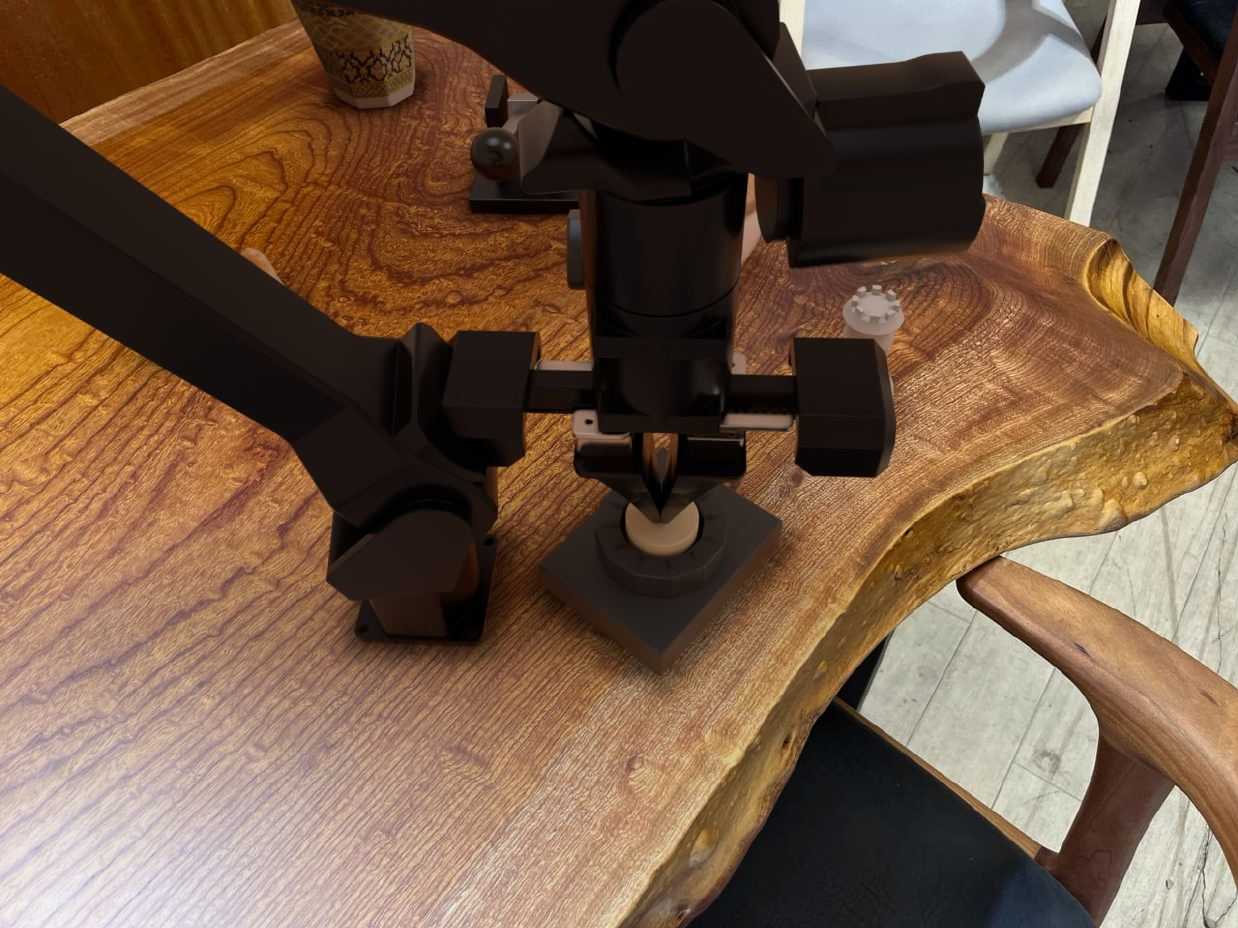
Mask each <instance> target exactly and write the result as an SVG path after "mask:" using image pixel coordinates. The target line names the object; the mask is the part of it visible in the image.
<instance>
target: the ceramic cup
mask: <svg viewBox="0 0 1238 928" xmlns="http://www.w3.org/2000/svg"><path fill="white" fill-rule="evenodd" d="M289 1H290V3H291V5H292V7H293V10H294V12H295V13H296V16H297V18H298V20H299V22H300V25H301V26H302V28H303V29H304V31H305V33H306V35H307V36H308V38H309V40H310V42H311V45H312V47H313V49H314V51H315V54H316V56H317V57H318V60H319V62H320V63H321V66H322V68H323V69H324V72H325V74H326V76H327V78H328V81H329V83H330V85H331V87H332V89H333V91H334V93H335V94H336V96H337V97H338V98H339V99H340V100H342V101H343V102H345V103H347V104H349V105H350V106H353V107H354V108H357V109H358V110H359V109H360V110H361V109H362V110H363V109H365V110H366V109H377V108H389V107H393V106H394V105H397V104H399V103H400V102H401V101H404V100H405V99H407V98H409V97H410V96H412V95H413V92H414V89H415V79H416V60H415V39H414V38H415V35H414V34H415V33H414V32H415V31H414V26H410V25H406V24H402V23H398V22H394V21H390V20H386V19H382V18H378V17H374V16H370V15H366V14H362V13H358V12H354V11H350V10H346V9H342V8H338V7H334V6H330V5H326V4H322V3H317V2H313V1H309V0H289Z"/></svg>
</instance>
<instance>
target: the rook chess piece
mask: <svg viewBox="0 0 1238 928" xmlns="http://www.w3.org/2000/svg"><path fill="white" fill-rule="evenodd" d="M882 287H883V286H882V285H877V284H876V285H875V284H872V286H871V291H867V290H868V289H867V288H866V287H865V286H862V287H859V288H857V289H856V292H855V295H854V294H852V297H851V298H850V299H848V300H847V301H846V303H845V304H844V305H843V307H842V317H843V319H844V321H845V323H846V324H845V326H844V327H843V329H842V338H867V339H875V341H876V342H877V343H878V344H879V345H880V347H881V348H882V349H883V350H884V351H885V353H886V359H887V357H888V350H889V348H891V346H892V345H893V343H894V342H895V332H896V331H897V330H899V329H900V327H901V326H902V324H903V323H904V319H905V316H904V315H905V312H904V311H903V310H902V308H901V300H899V299H897V295H898V294H897V293H896V292H895V291H894V290H893V289H888V291H886V293H883V292H882ZM887 360H888V359H887ZM888 372H889V378H890V384H891V391H892V397H893V398H894V393H895V392H894V390H895V386H894V381H893V379H892V377H891V373H890V370H888Z"/></svg>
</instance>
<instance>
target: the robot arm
mask: <svg viewBox="0 0 1238 928" xmlns="http://www.w3.org/2000/svg"><path fill="white" fill-rule="evenodd" d="M309 1H313V2H317V3H322V4H326V5H330V6H334V7H338V8H342V9H346V10H350V11H354V12H358V13H362V14H366V15H370V16H374V17H378V18H382V19H386V20H390V21H394V22H398V23H402V24H406V25H410V26H413V28H414V27H415V28H419V29H423V30H425V31H428V32H430V33H433V34H435V35H437V36H440V37H442V38H444V39H447V40H448V41H451V42H453V43H456V44H458V45H461V46H462V47H465V48H467V49H469V50H470V51H472V52H473V53H474V54H476V55H478V56H479V57H480V58H481V59H483V61H486V62H487V63H488V64H490V65H491V66H492V67H494V68H495V69H497V70H498V71H499V72H501V73H502V74H503V75H506V76H507V78H509V79H511V80H512V81H513V82H515V83H516V84H517V85H519V86H520V87H521V88H522V89H524V90H526V91H527V92H528V93H531V94H533V95H534V96H536V97H538V98H540V99H542V100H544V101H543V102H541V103H540V104H538V105H537V106H535V107H534V108H533V109H532V110H531V111H530V112H528V113H527V114H526V115H525V116H524V117H522V118H521V119H520V120H519V121H518V124H517V137H518V152H519V167H520V182H521V186H522V189H523V190H524V191H525V192H527V193H529V194H545V193H557V192H568V191H578V197H579V209H572V210H570V212H569V214H567V217H566V246H565V247H566V251H565V252H566V253H565V254H566V257H565V259H566V260H565V261H566V282H567V287H568V289H569V290H571V291H585V301H586V315H587V327H588V337H589V338H588V342H589V353H590V360H553V359H552V360H549V359H547V360H546V359H544V360H541V359H542V354H543V345H542V344H543V343H542V337H541V332H540V331H539V332H538V331H524V330H523V331H519V330H518V331H517V330H516V331H515V330H510V331H509V330H476V329H475V330H474V329H473V330H471V329H470V330H469V329H466V330H465V329H458V330H457V331H456V332H455V334H454V335H453V336H452V337H451V338H450V339H449V340H448V341H446V340H445V339H444V338H443V337H442V336H441V335H440V334H439V333H438V332H437V331H436V329H435V328H434V327H433V326H431V325H429V324H428V323H425V322H423V321H419V322H416V323H414V325H412V327H410V328H409V330H408V331H406V332H405V333H404V335H402V336H401V337H400V338H399V337H387V336H386V337H385V336H371V335H360V334H359V335H358V334H356V333H354V332H353V331H350V330H349V329H346V328H345V327H343V326H342V325H341V324H339V323H338V322H336V320H335V319H333V318H331V317H329V316H328V315H327V314H326V313H324V312H322V311H321V310H319V309H318V308H317V307H315V306H314V305H313V304H311V303H310V302H309V301H307V300H306V299H304V298H303V297H302V296H300V295H298V294H297V292H294V291H293V290H292V289H291V288H290V287H287V286H286V285H285V284H284V283H283V282H282V283H283V284H284V285H283V284H282V283H280V282H279V281H278V280H276V279H275V278H273V277H272V276H271V275H269V274H268V273H266V272H265V271H264V270H262V269H261V268H259V267H258V266H257V265H255V264H254V263H252V262H251V261H249V260H248V259H247V258H245V257H244V256H242V255H241V253H240V252H238V251H237V250H235V249H234V248H233V247H231V246H230V245H228V243H226V242H224V241H223V240H222V239H220V238H219V237H218V236H216V235H215V234H213V233H211V232H210V231H209V230H207V229H206V228H204V226H202V225H200V224H199V223H198V222H196V221H195V220H194V219H192V218H191V217H189V216H188V215H187V214H185V213H184V212H182V211H180V210H179V209H178V208H176V206H174V205H173V204H171V203H170V202H168V201H167V200H165V199H164V198H163V197H161V196H160V195H158V194H157V193H155V192H154V191H153V190H151V189H150V188H149V187H147V186H146V185H144V184H143V183H142V182H140V181H139V180H137V179H136V178H134V177H133V176H132V175H130V174H129V173H127V171H124V170H123V169H122V168H120V167H119V166H118V165H116V164H115V163H113V162H112V161H110V160H109V159H108V158H106V157H105V156H104V155H102V154H101V153H99V152H98V151H97V150H95V149H94V148H92V147H91V146H89V145H88V144H87V143H85V142H84V141H82V140H81V139H80V138H78V137H77V136H76V135H74V134H73V133H71V132H70V131H68V130H67V129H65V128H64V127H62V125H60V124H58V122H56V121H54V120H53V119H52V118H50V117H49V116H48V115H46V114H44V113H43V112H42V111H40V110H39V109H37V108H36V107H35V106H34V105H32V104H31V103H29V101H27V100H25V99H23V98H22V97H20V95H18V94H16V93H15V92H13V91H12V90H11V89H10V88H8V87H7V86H6V85H4V84H3V83H2V82H0V274H1V275H3V276H4V277H6V278H8V279H10V280H11V281H13V282H15V283H17V284H18V285H19V286H21V287H23V288H24V289H26V290H29V291H30V292H32V293H33V294H35V295H36V296H39V297H41V298H42V299H44V300H45V301H47V302H49V303H50V304H52V305H54V306H56V307H58V308H59V309H61V310H63V311H64V312H66V313H68V314H69V315H71V316H73V317H75V318H76V319H78V320H79V321H81V322H83V323H85V324H87V325H88V326H90V327H92V328H94V329H95V330H96V331H98V332H100V333H102V334H104V335H105V336H106V337H109V338H110V339H112V340H114V341H116V342H117V343H119V344H121V345H122V346H124V347H126V348H128V349H130V350H131V351H133V352H135V353H136V354H138V355H139V356H141V357H143V358H144V359H147V360H148V361H150V362H152V363H154V364H155V365H157V366H159V367H160V368H162V369H164V370H166V371H167V372H169V373H171V374H172V375H175V376H176V377H178V378H179V379H181V380H183V381H184V382H186V383H188V384H189V385H191V386H192V387H195V388H196V389H198V390H200V391H202V392H203V393H205V394H207V395H208V396H210V397H211V398H213V399H215V400H217V401H219V402H221V403H222V404H224V405H226V406H228V407H230V408H231V409H232V410H234V411H236V412H238V413H239V414H241V415H242V416H244V417H246V418H248V419H249V420H251V421H253V422H254V423H257V424H258V425H260V426H261V427H263V428H265V429H267V430H268V431H270V432H272V433H274V434H275V435H276V436H278V437H280V438H281V439H283V441H284V442H286V443H287V445H289V447H290V448H291V449H292V451H293V452H294V455H296V457H297V459H298V460H299V461H300V463H301V465H302V466H303V468H304V469H305V472H307V474H308V476H309V478H310V479H311V480H312V482H313V484H314V485H315V487H316V488H317V490H318V492H319V493H320V494H321V497H323V499H324V500H325V502H326V504H327V505H328V507H329V508H330V509H331V510H332V518H331V528H330V536H329V537H330V538H329V548H328V549H329V550H328V555H327V556H328V558H327V566H326V575H325V582H326V583H327V584H328V585H329V586H331V587H332V588H333V589H334V590H336V591H337V592H338V593H339V594H341V595H342V596H344V597H345V598H346V599H347V600H348V601H351V602H360V605H359V610H358V614H357V618H356V622H355V625H354V630H353V633H354V635H355V637H356V639H357V640H358V641H359V642H361V643H373V644H375V643H376V644H399V645H401V644H402V645H422V646H423V645H424V646H425V645H427V646H430V645H431V646H449V647H477V646H478V645H481V643H482V642H483V641H484V638H485V632H486V626H487V622H488V615H489V607H490V603H491V597H492V591H493V584H494V579H495V573H496V568H497V562H498V557H499V551H500V550H499V549H500V542H499V539H498V537H497V536H496V535H494V534H492V533H491V534H490V533H489V532H491V530H492V528H493V527H494V526H495V524H496V522H497V521H498V517H499V508H500V507H499V506H500V505H499V479H498V477H499V476H498V474H499V473H498V468H510V467H511V466H513V465H514V464H516V463H517V462H519V461H521V459H523V458H524V457H526V453H527V448H528V443H527V442H528V441H527V436H526V432H525V431H526V424H527V418H528V414H546V415H547V414H549V415H570V417H571V423H572V424H571V425H572V426H571V434H572V437H573V438H574V439H575V442H574V450H573V451H574V452H573V458H572V467H573V470H574V471H573V472H574V473H575V474H576V475H577V477H579V478H582V479H586V480H587V479H588V480H596V481H598V482H600V483H602V484H603V485H605V486H606V487H607V488H609V489H611V491H612V490H614V491H615V492H617V493H618V494H620V495H621V496H623V497H624V498H625V499H627V500H628V501H629V502H630V503H631V504H632V505H634V506H635V507H636V508H637V509H638V510H639V511H640V512H641V513H642V514H643V515H644V516H645V517H646V518H647V519H649V520H650V521H651V522H652V523H660V522H661V523H662V524H669V523H670V522H671V521H672V520H673V519H674V518H675V517H676V516H677V515H678V514H680V513H681V512H682V511H683V510H684V509H685V508H686V507H687V506H688V505H689V504H691V503H692V502H693V501H694V500H696V499H697V498H699V497H700V496H702V495H703V494H705V493H707V492H708V491H710V490H711V489H713V488H715V487H716V486H718V485H719V484H735V483H739V482H741V481H742V480H743V479H744V478H745V476H746V474H747V470H748V469H747V467H748V465H747V463H748V461H747V432H749V433H750V432H766V433H769V432H770V433H789V432H792V431H793V429H794V425H795V434H796V436H795V437H796V438H795V445H794V449H793V457H794V458H793V459H794V465H795V466H798V467H799V468H800V469H801V470H803V471H804V472H805V473H807V474H808V475H810V476H811V477H822V478H823V477H825V478H827V477H828V478H829V477H830V478H859V479H860V478H862V479H876V478H878V476H880V475H881V474H882V473H883V472H885V471H886V470H887V469H888V468H889V465H890V462H891V458H892V455H893V451H894V448H895V445H896V437H897V418H896V417H897V416H896V409H895V404H894V396H893V397H892V391H891V384H890V378H889V372H890V371H889V366H888V359H886V353H885V351H884V350H883V349H882V348H881V347H880V345H879V344H878V343H877V342H876V341H875V339H867V338H844V337H811V336H809V337H808V336H792V337H790V338H789V342H788V349H787V365H788V366H789V367H790V368H791V374H754V373H753V374H752V373H748V372H747V371H748V370H747V357H746V355H745V354H743V353H738V352H737V353H736V352H735V353H734V350H735V338H736V329H737V316H738V305H739V295H740V294H739V293H740V280H741V271H742V270H741V268H742V265H741V259H742V247H743V235H744V224H745V212H746V200H747V189H748V177H749V173H751V174H753V175H754V190H755V203H756V212H757V218H758V223H759V227H760V231H761V236H762V237H761V238H762V239H763V241H764V242H765V243H766V244H776V243H784V242H785V246H786V251H787V262H788V267H789V269H790V270H795V269H796V270H797V269H798V270H809V269H810V270H811V269H821V268H833V267H842V266H853V265H854V266H855V265H864V264H876V263H887V262H896V261H907V260H917V259H918V260H919V259H928V258H940V257H950V256H960V255H962V254H963V253H965V252H966V251H968V250H969V249H970V247H971V246H972V244H973V243H974V242H975V240H976V238H977V236H978V233H979V232H980V229H981V227H982V225H983V220H984V217H985V213H986V211H987V210H986V209H987V208H986V207H987V200H986V198H985V196H984V194H983V192H984V191H983V190H984V178H985V155H984V154H985V153H984V139H983V134H982V129H981V124H980V118H979V111H980V107H981V106H982V105H981V104H982V100H983V98H984V93H985V90H986V88H987V87H986V84H985V82H984V80H983V79H982V77H981V76H980V75H979V73H978V72H977V70H976V69H975V67H974V65H973V64H972V62H971V61H970V60H969V58H968V56H967V55H966V54H965V53H964V51H962V50H955V51H943V52H934V53H933V52H931V53H926V54H922V55H920V56H916V57H913V58H910V59H907V60H901V61H894V62H882V63H872V64H859V65H847V66H846V65H845V66H835V67H834V66H833V67H823V68H811V69H806V67H805V65H804V61H803V60H802V57H801V55H800V53H799V51H798V49H797V46H796V44H795V41H794V39H793V38H792V35H791V33H790V30H789V28H788V26H787V24H786V23H785V21H780V2H779V0H309ZM888 371H889V372H888ZM794 423H795V424H794ZM654 434H669V435H670V434H671V435H670V440H669V446H668V449H667V450H668V455H667V460H666V465H665V470H664V475H663V481H662V489H661V480H660V474H659V468H658V462H657V456H656V452H657V450H656V445H655V439H654ZM488 543H491V545H487V544H488ZM365 630H367V632H365V633H363V631H365ZM473 634H476V636H474V637H470V636H471V635H473Z"/></svg>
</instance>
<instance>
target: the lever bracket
mask: <svg viewBox="0 0 1238 928" xmlns="http://www.w3.org/2000/svg"><path fill="white" fill-rule="evenodd" d="M509 91H510V90H509V84H508V76H506V75H505V74H492V77H491V81H490V84H489V88H488V92H487V95H486V99H485V103H484V104H483V107H482V115H483V122H484V124H485V125H486V129H487V128H491V127H500V128H502V127H503V126H504V125H505V123H506V122H507V121H508V113H507V100H508V98H509V97H510V93H509ZM543 101H544V100H542V102H543ZM468 204H469V208H470V213H471V214H545V215H547V214H549V215H550V214H552V215H553V214H554V215H555V214H561V215H562V214H563V215H568V214H569V212H570V210H572V209H579V197H578V191H568V192H557V193H545V194H529V193H527V192H525V191H524V190H523V189H522V186H521V182H520V168H519V170H518V171H517V173H516V174H515V175H514V176H513V177H511V178H510V179H508V180H505V181H501V182H494V181H490V180H487V179H485V178H483V177H482V176H480V175H479V174H478V173H477V171H476V170H475V176H474V179H473V183H472V187H471V191H470V193H469V198H468Z"/></svg>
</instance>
